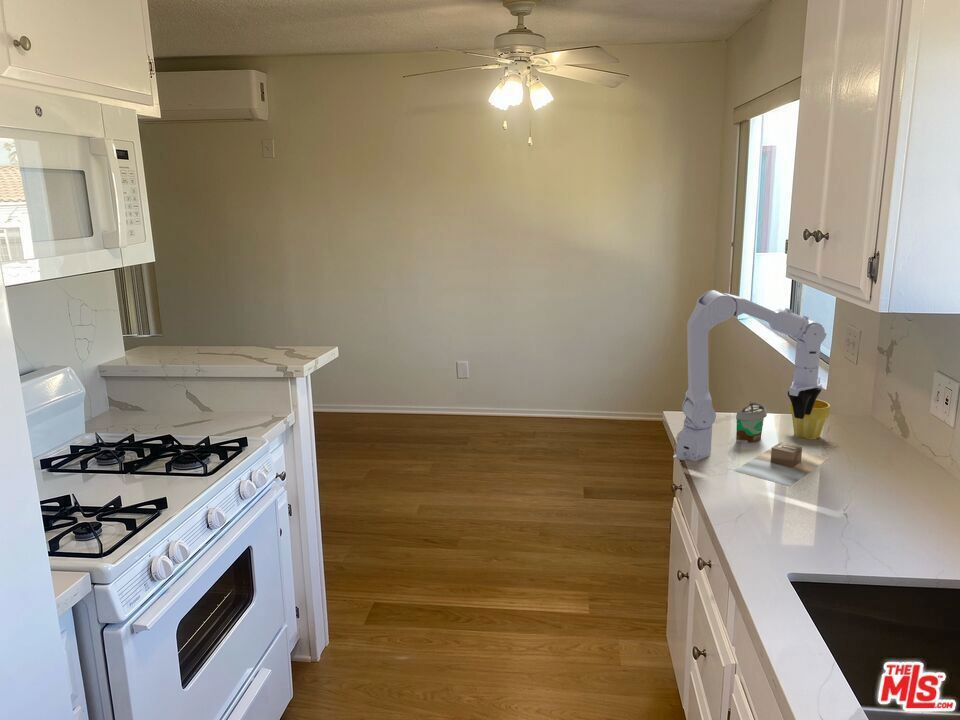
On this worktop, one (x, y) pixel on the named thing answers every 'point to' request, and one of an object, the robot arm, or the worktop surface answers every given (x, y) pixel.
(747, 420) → the food container
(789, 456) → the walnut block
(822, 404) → the plant pot
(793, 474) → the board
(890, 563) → the worktop surface
